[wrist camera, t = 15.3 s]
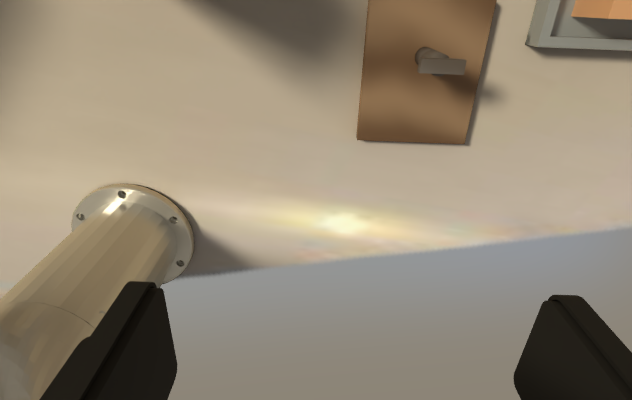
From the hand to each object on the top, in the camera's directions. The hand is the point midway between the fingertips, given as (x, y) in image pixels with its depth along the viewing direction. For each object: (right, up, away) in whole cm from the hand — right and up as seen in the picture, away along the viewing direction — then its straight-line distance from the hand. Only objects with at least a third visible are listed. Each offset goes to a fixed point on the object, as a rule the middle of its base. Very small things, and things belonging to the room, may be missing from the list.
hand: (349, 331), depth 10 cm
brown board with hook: (+8, +15, +24) cm, 29 cm away
